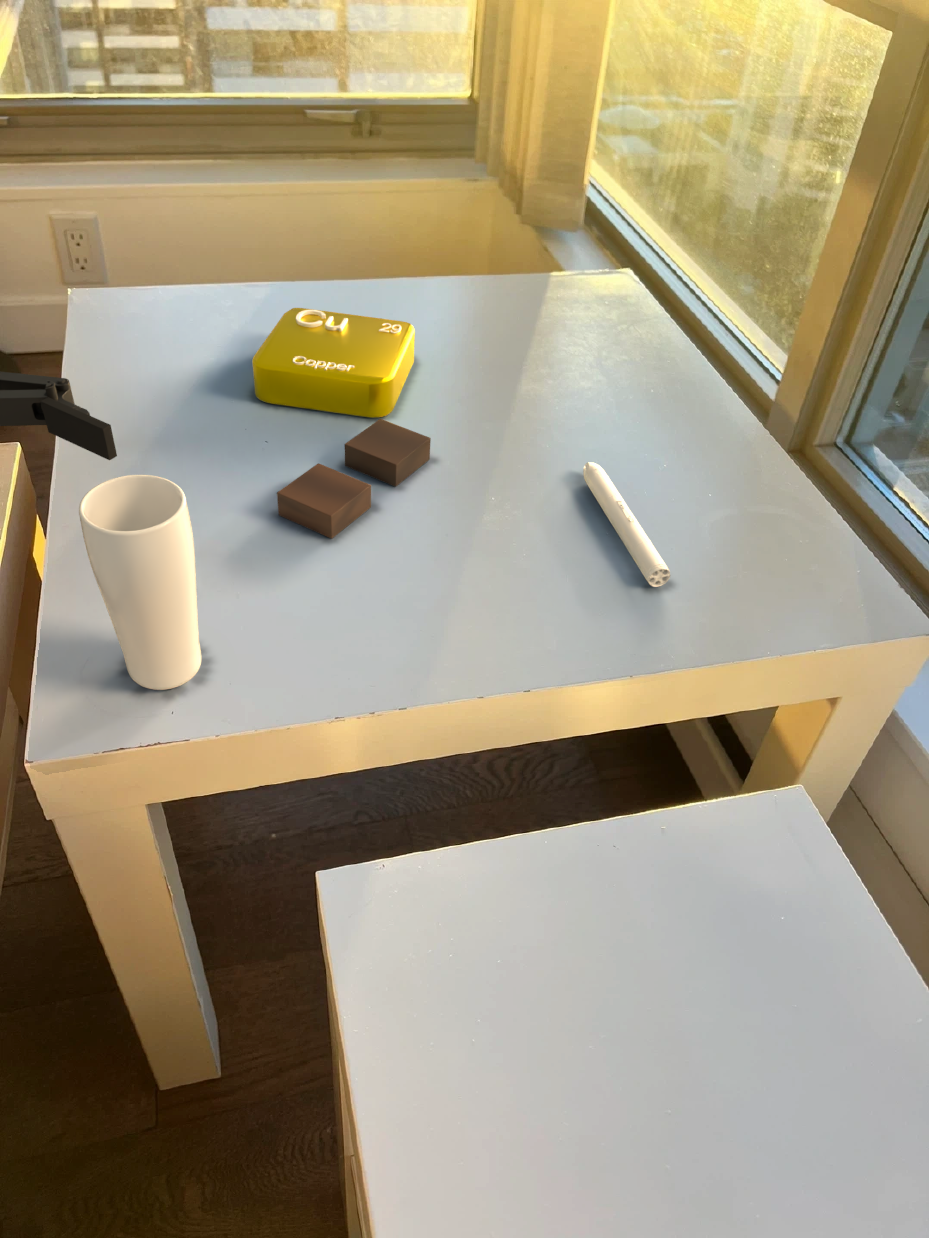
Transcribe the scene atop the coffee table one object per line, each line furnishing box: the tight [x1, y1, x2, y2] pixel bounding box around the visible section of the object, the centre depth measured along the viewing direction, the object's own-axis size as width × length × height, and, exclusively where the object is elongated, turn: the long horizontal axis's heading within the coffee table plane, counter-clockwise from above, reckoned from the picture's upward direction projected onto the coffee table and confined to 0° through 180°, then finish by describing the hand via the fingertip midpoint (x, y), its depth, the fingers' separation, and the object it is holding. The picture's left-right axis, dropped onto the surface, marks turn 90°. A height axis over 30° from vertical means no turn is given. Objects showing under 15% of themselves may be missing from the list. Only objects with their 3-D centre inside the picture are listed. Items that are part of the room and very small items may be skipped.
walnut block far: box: [344, 418, 432, 488], centre depth 93 cm, size 6×6×2 cm
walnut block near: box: [276, 463, 372, 540], centre depth 87 cm, size 6×6×2 cm
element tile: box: [251, 307, 416, 419], centre depth 104 cm, size 15×15×5 cm
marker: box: [582, 461, 671, 588], centre depth 88 cm, size 18×2×2 cm, turn 15°
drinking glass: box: [78, 474, 203, 691], centre depth 66 cm, size 7×7×15 cm
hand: (36, 485), depth 67 cm, fingers open, 13 cm apart
